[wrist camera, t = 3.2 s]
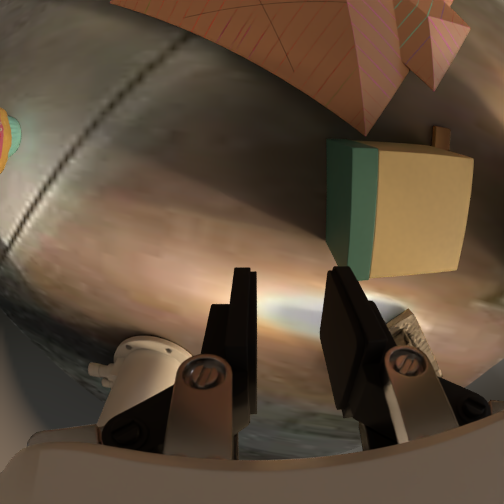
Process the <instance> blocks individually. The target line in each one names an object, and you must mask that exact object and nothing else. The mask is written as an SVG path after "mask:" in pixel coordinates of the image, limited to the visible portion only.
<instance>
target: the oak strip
mask: <svg viewBox="0 0 504 504" xmlns="http://www.w3.org/2000/svg"><path fill="white" fill-rule="evenodd" d="M450 131H451V130H450V129H447V128H443V127H438V126H433V134H432V147H436V148H440V149H443V150H447V151H449V146H450Z"/></svg>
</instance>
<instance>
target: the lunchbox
mask: <svg viewBox="0 0 504 504" xmlns="http://www.w3.org/2000/svg"><path fill="white" fill-rule="evenodd" d="M326 153H327V208H326V243H327V245H328V247H329V249H330V251H331V253H332V255H333V257H334V259H335V261H336V263H337V265H338V266H349V267H350V268H351V270H352V271H353V273H354V275H355V277H356V279H357V280H358V281H362V280H369V278H380V277H392V276H403V275H414V274H425V273H435V272H445V271H454V270H457V267H458V263H459V258H460V254H461V249H462V244H463V239H464V234H465V229H466V223H467V217H468V210H469V204H470V196H471V188H472V178H473V167H474V159H473V158H470V157H467V156H464V155H461V154H457V153H454V152H450V151H447V150H443V149H440V148H436V147H432V146H428V145H419V144H408V143H394V142H377V141H352V140H349V139H326Z"/></svg>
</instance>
